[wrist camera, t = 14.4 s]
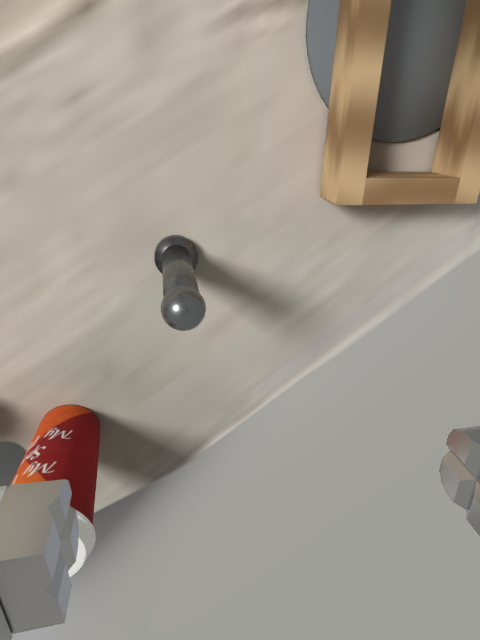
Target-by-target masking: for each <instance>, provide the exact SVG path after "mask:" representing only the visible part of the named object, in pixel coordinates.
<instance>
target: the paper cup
mask: <svg viewBox="0 0 480 640" xmlns="http://www.w3.org/2000/svg"><path fill="white" fill-rule="evenodd" d="M99 442H100V423H99V420H98V418H97V417H96V415H95V414H94V413H93V412H92V411H90V410H89V409H87V408H85V407H82V406H78V405H62V406H59V407H56V408H54V409H52V410H51V411H49V412H48V413H47V414H46V415H45V417H44V418H43V420H42V422H41V423H40V425H39V427H38V429H37V431H36V433H35V435H34V437H33V440H32V442H31V444H30V446H29V448H28V450H27V452H26V454H25V456H24V458H23V460H22V462H21V465H20V467H19V469H18V471H17V473H16V475H15V477H14V479H13V482H12V484H11V485H15V484H24V483H34V482H44V481H53V480H63V479H66V480H68V481H69V484H70V488H71V491H72V496H71V500H70V506H71V507H73V508H74V509H75V510H76V513H77V517H78V526H79V539H78V551H77V557H76V562H75V563H74V564H73V566H72V567H71V568H70V569H69V570H68V573H69V577H71V576H72V575H73V574H75V573H76V572H77V571H78V570H79V569H80V568H81V566H82V565H83V564H84V562H85V560H86V558H87V556H88V555H89V554H90V552H91V551H92V549H93V547H94V544H95V531H94V527H93V525H92V524H93V513H94V502H95V490H96V479H97V467H98V455H99Z"/></svg>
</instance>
